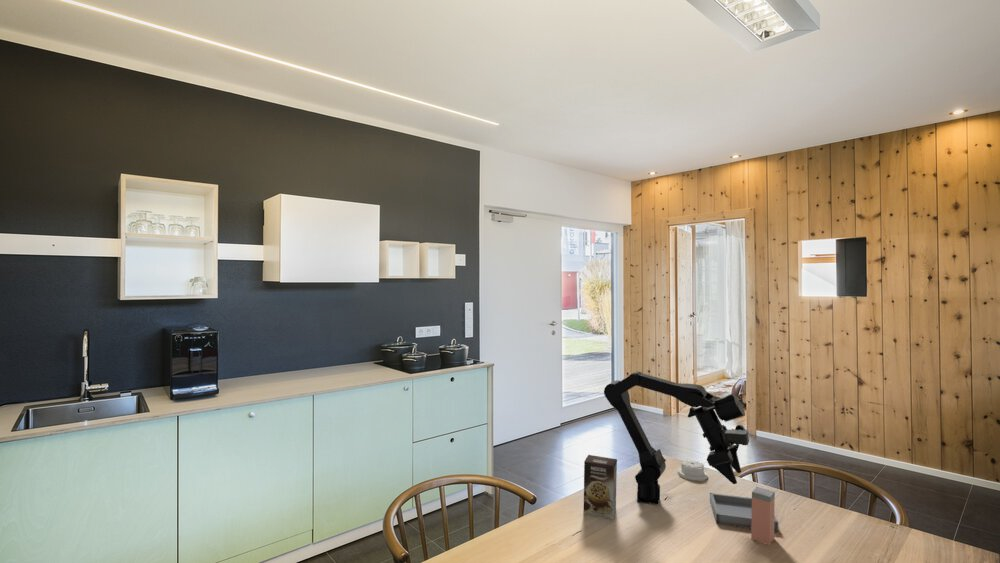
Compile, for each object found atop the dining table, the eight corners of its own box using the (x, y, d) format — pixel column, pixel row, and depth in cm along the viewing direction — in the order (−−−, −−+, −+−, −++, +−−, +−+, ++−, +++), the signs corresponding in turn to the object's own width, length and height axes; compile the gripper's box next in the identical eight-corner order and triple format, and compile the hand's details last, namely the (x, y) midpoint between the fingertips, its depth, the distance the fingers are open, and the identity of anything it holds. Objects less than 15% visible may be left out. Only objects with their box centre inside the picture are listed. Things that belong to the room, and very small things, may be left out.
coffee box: (582, 514, 145) (583, 461, 145) (587, 504, 151) (587, 453, 151) (613, 520, 141) (614, 465, 141) (616, 510, 147) (617, 458, 147)
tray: (716, 523, 140) (716, 513, 140) (709, 501, 153) (709, 492, 153) (778, 532, 135) (778, 522, 135) (765, 508, 149) (765, 499, 149)
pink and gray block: (751, 538, 132) (751, 491, 132) (756, 532, 135) (756, 486, 135) (769, 545, 129) (770, 497, 129) (774, 538, 132) (774, 491, 132)
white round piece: (711, 482, 168) (702, 470, 178) (711, 469, 168) (702, 458, 178) (682, 480, 169) (674, 469, 179) (682, 468, 169) (674, 457, 179)
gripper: (733, 426, 132) (762, 482, 129) (742, 410, 148) (768, 460, 144) (695, 438, 138) (722, 492, 134) (707, 421, 153) (731, 470, 150)
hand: (737, 478), depth 140 cm, fingers open, 9 cm apart
